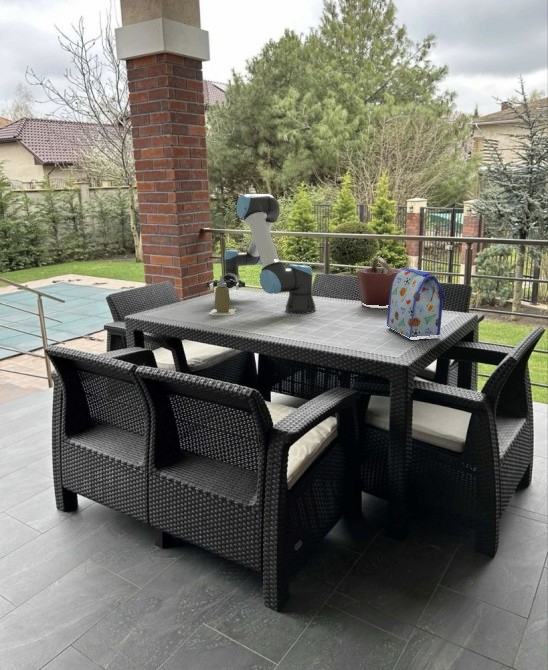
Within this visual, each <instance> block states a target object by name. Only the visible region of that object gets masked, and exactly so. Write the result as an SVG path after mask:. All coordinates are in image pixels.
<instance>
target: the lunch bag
mask: <svg viewBox="0 0 548 670" xmlns="http://www.w3.org/2000/svg"><path fill="white" fill-rule="evenodd" d="M399 269H400V271H399V272H398V274H397V275H396V276H395V277H394V280H393V283H392V287H391V292H390V299H389V306H388V309H387V318H386V327H387V326H388V327H390V328H392V329H394V330H396V331H397V332H399V333H401V334H403V335H405V336H407V337H409V338H410V337H417V336H430V335H440V334H441V326H442V316H443V301H446V300H447V296H446V294H445V293H444V291H443V289H442V286H441V284H440V282H439V280H438V279H437V278H436V277H435V276H434V275H432V274H431V273H430V272H425V271H423V270H418V269H415V268H408V267H402V268H399Z"/></svg>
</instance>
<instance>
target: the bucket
mask: <svg viewBox="0 0 548 670" xmlns="http://www.w3.org/2000/svg"><path fill="white" fill-rule="evenodd" d="M378 263H380V265H382V267H378ZM400 269H401V268H392V267H391V266H390V265H389V264H388V263H387V261H386V260H385V259H384V258H383V257H375V258H374V259H373V260H372V263H371V267H365V268H361V269H357V270H356V278H357V284H358V288H359V296H360V301H361V304H362V303H364V304H366V305H379V306H386V305H389V299H390V292H391V287H392V283H393V280H394V277H395V276H396V275H397V274H398V272H399V271H400Z"/></svg>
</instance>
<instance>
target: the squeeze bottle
mask: <svg viewBox="0 0 548 670" xmlns="http://www.w3.org/2000/svg"><path fill="white" fill-rule="evenodd" d="M223 277H224V275H220V276H219V280H220V281H219V280H218V281H219V283H217V287H215V294H214V296H215V297H214V307H215V309H216V310H217V312H228V311H229V309H231V307H230V306H231V299H230V288H228V287H226V283H224V279H223Z"/></svg>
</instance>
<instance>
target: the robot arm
mask: <svg viewBox="0 0 548 670" xmlns="http://www.w3.org/2000/svg"><path fill="white" fill-rule="evenodd" d="M280 212H281V207H280V203H279V201H278V200H277V198H276V197H275V196H274V195H272V194H269V193H260V194H259V193H254V194H253V193H252V194H251V193H247V194H245V193H244V194H241V195H240V196H239V197H238V199H237V202H236V214H237V216H238V218H239V219H243V220H244V224H246V225H247V226H249V228H250V232H251V235H252V237H251V241H250V243H249V246H248V248H247V250H246V252H239V251H238V250H237V249H226V250H225V251H224V269H225V270H224V275H223V279H224V283H226V287H228V289H232V288H234V287H235V288H236V289H235V290H237V291H238V290H239V289H240V288H246V282H245V281H243V280H241V279H240V274H239V267H245V266H246V267H247V266H256V265H260V264H262V268H261V272H260V274H259V283H260V286H261V288H262V290H263V291H264V293H266V294H274V295H275V294H281V293H282V294H283V293H288V298H287V301H286V305H285V311H286V312H287V311H288V312H287V313H290V312H292V313H291V314H308V313H307V312H311V313H313V312H312V311H314V312H316V304H315V300H314V297H313V268H312V267H311V266H309V265H305V264H304V265H303V264H302V265H301V264H289V265H288V267H287V268H286V266H285V264H284V262H283V261H282V260H280V258H279V255H278V252H277V250H276V247H275V243H274V240H273V239H272V235H271V230H272V228H273V225H274V224H275V223H277V221H278V219H279V217H280ZM219 281H220V279H219V280H218V279H214V280H212V281H211V280H210V281H207V282H206V288H209V291H212V290H213V289H214V288H217V283H219Z"/></svg>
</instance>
